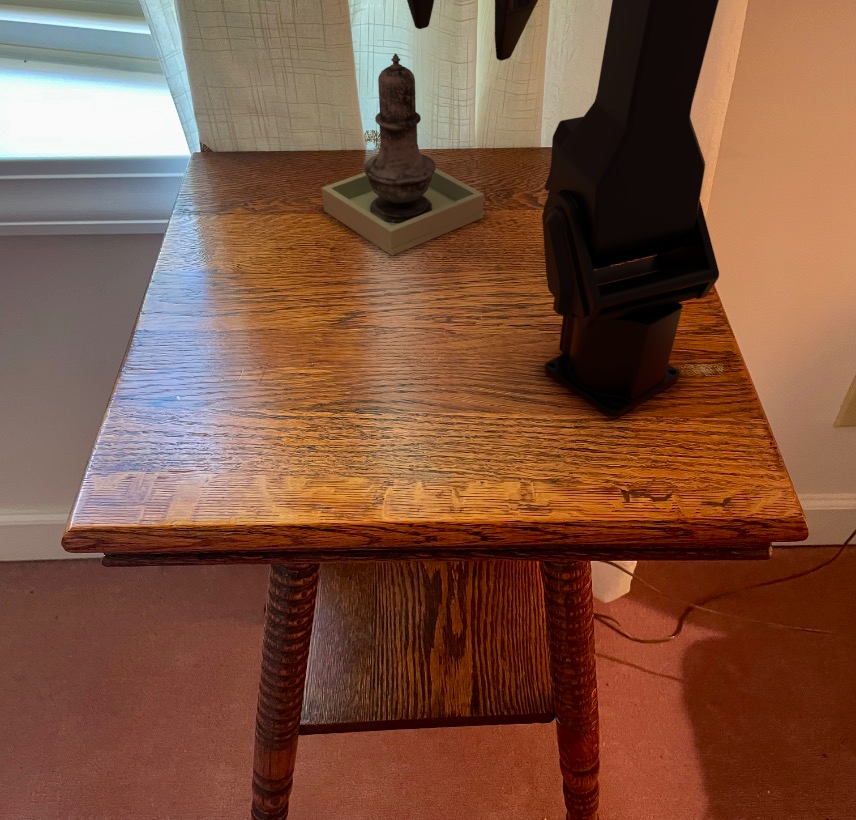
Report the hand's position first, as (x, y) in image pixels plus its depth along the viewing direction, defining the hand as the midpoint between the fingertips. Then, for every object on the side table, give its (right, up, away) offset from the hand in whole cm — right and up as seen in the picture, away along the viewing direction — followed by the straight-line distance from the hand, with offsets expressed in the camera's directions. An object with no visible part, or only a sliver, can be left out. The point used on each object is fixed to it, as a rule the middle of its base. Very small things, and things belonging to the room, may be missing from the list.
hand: (461, 42), depth 61 cm
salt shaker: (-5, -9, +8) cm, 13 cm away
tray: (-5, -10, +9) cm, 14 cm away
